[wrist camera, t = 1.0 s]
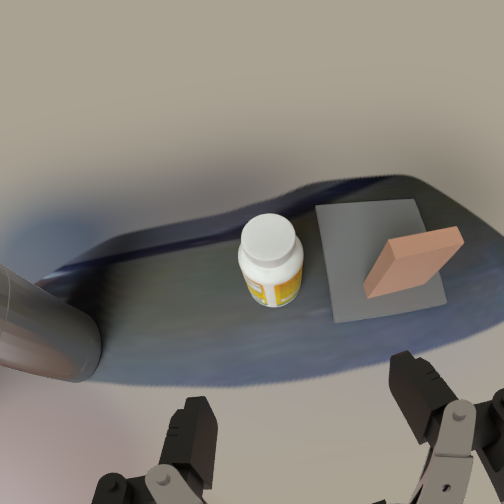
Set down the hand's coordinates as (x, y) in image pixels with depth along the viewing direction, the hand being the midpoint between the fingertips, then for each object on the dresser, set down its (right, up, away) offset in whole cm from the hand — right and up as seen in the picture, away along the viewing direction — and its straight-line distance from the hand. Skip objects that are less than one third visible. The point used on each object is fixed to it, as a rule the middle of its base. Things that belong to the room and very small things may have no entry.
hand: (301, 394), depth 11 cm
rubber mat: (+12, +6, +18) cm, 23 cm away
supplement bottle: (0, +3, +19) cm, 19 cm away
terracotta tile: (+13, +3, +16) cm, 20 cm away
